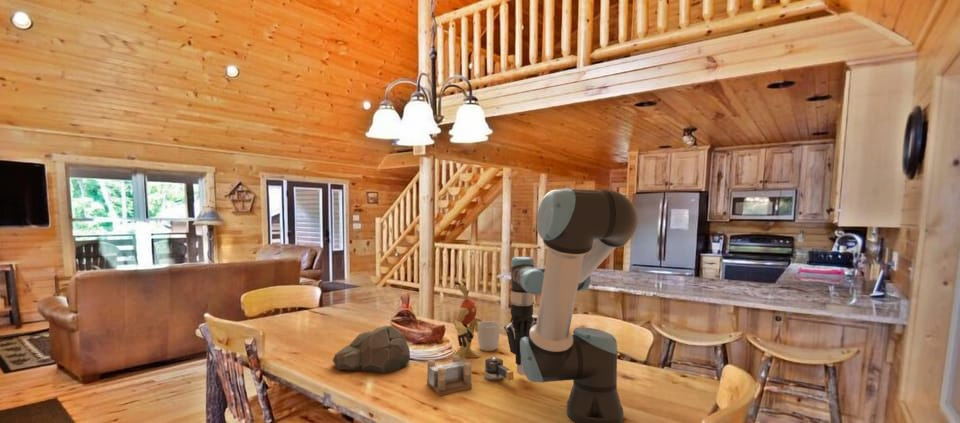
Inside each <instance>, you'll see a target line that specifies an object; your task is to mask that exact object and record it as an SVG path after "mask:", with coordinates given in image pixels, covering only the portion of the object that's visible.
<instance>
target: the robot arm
mask: <svg viewBox="0 0 960 423" xmlns="http://www.w3.org/2000/svg"><path fill="white" fill-rule="evenodd" d="M536 218H537V220H536V221H537V223H536V227H537V233H538V235H539V237H540V238H541V239H542V242H543V244H544V246H545V247H546V248H547V255H546V259H545V260H546V261H545V266H544V267H543V266H542V267H541V266H540V267H538V266H537V267H535V263H534V262H535V261H534V259H533V258H532V257H530V256H516V257H515V256H514V257H512V259H511V262H510V263H511V264H510V265H511V266H510V302H511V303H510V315H511V318H510V323H509V324H507V325H504V327H503V328H504V330H505V332H506V335H507V340H508V344H509V345H508V346H509V347H508V348H509V351H510V353H511V354H513V355H515V364H516V373H517V374H519V375H520V376H526V378H527V380H528V381H530V382H532V383H550V382H565V381H572V382H573V384H572V388H571V389H570V393H569V397H568V399H567V402H566V414H567V416H568V417H569V419H571V420H572V421H573V422H575V423H623V421H624V408H623V406H622V405H621V399H620V396H619V392H618V387H617V386H618V385H617V384H618V354H619V351H618V344H617V342H618V341H617V338H616V337H615V336H614V335H612V334H611V333H609V332H607V331H604V330H600V329H597V328H592V327H586V326H583V327H582V326H578V327H575V328H574V329H573V331H572V332H571V331H570V330H571V324H572V318H573V313H574V309H575V303H576V299H577V294H578V293H577V292H579V291H587V290H588V289H589V287H590V284H591V275H592V274H593V273H594V272H595V271H596V269H598V267H599V266H600V265H601V264H602V263H603V262H604V261H605V259H607V258H608V257H609V256H610V255H611V254H612V253H613V251H615V250H616V248H621V247H623V246H625V245H626V244H627V243H628V242H629V241H630V240H631V238H632V237H633V236H634V234H635V233H636V230H637V227H638V214H637V210H636V207H635V206H634V204H633V202H632V201H631V200H630V199H629V198H628V197H627V196H625V195H624V194H623V193H620V192H618V191H616V190H612V189H576V188H575V189H573V188H572V189H571V188H562V189H561V188H560V189H552V190H550V191H549V192H547V193H546V194H545V195H544V196H543V198H542V199H541V202H540V204H539V206H538V210H537V217H536ZM534 295H540V300H539V306H538V312H537V317H536V318H537V320H536V321H535V320H534V318H533V315H534V304H533V303H534Z"/></svg>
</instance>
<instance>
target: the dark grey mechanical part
mask: <svg viewBox="0 0 960 423" xmlns="http://www.w3.org/2000/svg"><path fill="white" fill-rule="evenodd" d="M484 363H485V365H484V367H485V369H484V372H485V371H486V372H488V373H492V374H497V373H498V374H499V375H501V376H503V377H504V378H505V379H506V380H507V381H511V380H514V371H513V370H512V369H510V368H508V367H507V366H504V360H502V359H501V358H498V357H497V356H491V357H490V358H487V359H485V362H484ZM504 378H503V379H504Z"/></svg>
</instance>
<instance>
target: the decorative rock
mask: <svg viewBox="0 0 960 423" xmlns="http://www.w3.org/2000/svg"><path fill="white" fill-rule="evenodd" d="M332 358H333V359H332V362H333V364H334V365H335V367H336V368H337V370H339V371H344V372H351V371H352V372H357V371H362V372H374V373H376V374H377V373H378V374H387V373H390V372H394V371H398V370H399V369H400V368H404V367H406V366H407V365H408V363H409V361H410V358H411V351H410V347H409V345H408V342H407V341H406V337H405V334H404V333H403V332H402V331H400V330H399V329H398V328H396V327H394V326H392V325H384V326H381V327H376V328H374V330H372V331H365V332H362V333H359V334H358V335H357V336H356V337H355V338H354V339H353V340H352V341H351V342H350V344H347V345H346V346H345V347H343V348H341V349H340V350H339V351H338V352H336V353H335V354H334V357H332Z"/></svg>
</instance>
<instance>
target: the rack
mask: <svg viewBox="0 0 960 423" xmlns="http://www.w3.org/2000/svg"><path fill="white" fill-rule="evenodd" d="M457 361H460V356H458V355H456V354H454V355H452V362H457ZM452 362H451V363H452ZM431 366H436V360H434V359H428V360H427V377H426V378H427V379H426V385H427V386H428V387H430V388H431V389H432V390H433V391H434V392H435V393H436V394H438V395H439V396H444V395H449V394H452V393H458V392H461V391H465V390H469V389H472V388H473V387H472V386H473V384H472V363H471V362H469V363H464V381H460V382H456V383H451V384H447V385H446V369H445V368H439V369H438V386H437V387H433V386H432V385H431V384H430V383H429V367H431Z"/></svg>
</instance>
